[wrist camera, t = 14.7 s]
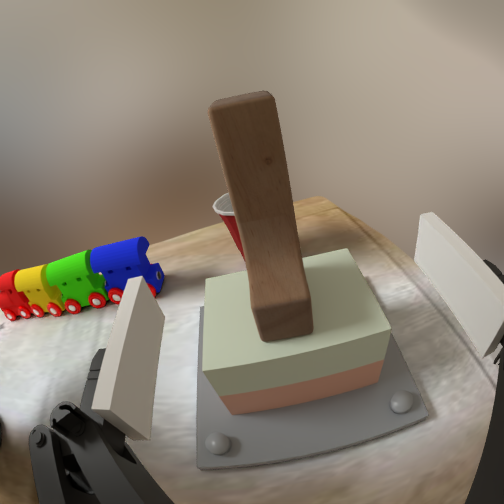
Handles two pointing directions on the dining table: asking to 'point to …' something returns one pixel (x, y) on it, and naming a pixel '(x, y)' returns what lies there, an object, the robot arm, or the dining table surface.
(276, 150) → the wooden block
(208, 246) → the dining table surface
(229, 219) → the plastic cup
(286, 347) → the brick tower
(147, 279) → the toy train
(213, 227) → the dining table surface
